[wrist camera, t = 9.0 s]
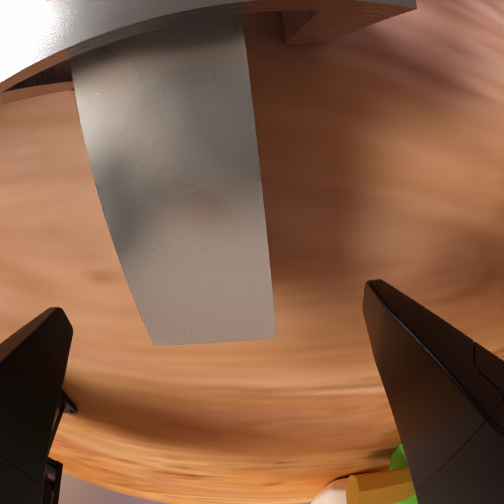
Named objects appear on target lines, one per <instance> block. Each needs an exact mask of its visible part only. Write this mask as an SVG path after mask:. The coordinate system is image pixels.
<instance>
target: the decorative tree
mask: <svg viewBox="0 0 504 504" xmlns="http://www.w3.org/2000/svg"><path fill="white" fill-rule="evenodd" d="M346 501H347V504H418V502H417V498H416V494H415V490H414V486H413V482H412V478H411V474H410V470H409V467H408V463H407V459H406V456H405V452H404V449H403V446H402V443H401V444H400V445H399V446H398V447H397V449H396V450H395V451H394V452H393V453H392V454H391V462H390V470H387V471H380V472H373V473H365V474H357V475H351V476H350V477H349V478H348V479H347V483H346Z"/></svg>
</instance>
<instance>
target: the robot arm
mask: <svg viewBox="0 0 504 504" xmlns="http://www.w3.org/2000/svg"><path fill="white" fill-rule="evenodd" d="M363 313H364V317H365V321H366V326H367V330H368V334H369V338H370V342H371V347H372V351H373V355H374V359H375V362H376V365H377V368H378V371H379V374H380V377H381V380H382V383H383V385H384V388H385V391H386V394H387V397H388V400H389V404H390V407H391V410H392V413H393V416H394V419H395V422H396V426H397V429H398V432H399V435H400V439H401V442H402V446H403V449H404V452H405V456H406V459H407V463H408V467H409V470H410V474H411V478H412V482H413V486H414V490H415V494H416V498H417V502H418V504H504V361H503V360H502V359H500V358H498V357H497V356H496V355H494V354H493V353H491V352H490V351H488V350H487V349H485V348H484V347H482V346H481V345H479V344H478V343H477V342H474V341H473V340H472V339H471V338H469V337H468V336H466V335H465V334H463V333H462V332H461V331H459V330H458V329H456V328H455V327H453V326H452V325H450V324H449V323H447V322H446V321H444V320H443V319H441V318H440V317H438V316H437V315H435V314H434V313H432V312H431V311H429V310H428V309H426V308H425V307H423V306H422V305H420V304H419V303H417V302H416V301H414V300H413V299H411V298H410V297H408V296H407V295H405V294H403V293H402V292H400V291H399V290H397V289H396V288H394V287H393V286H391V285H389V284H388V283H386V282H385V281H383V280H381V279H376V280H369V281H367V282H366V284H365V290H364V298H363ZM72 336H73V328H72V325H71V323H70V322H69V320H68V318H67V316H66V314H65V313H64V311H63V309H62V308H60V307H51V308H48V309H47V310H46V311H44V312H43V313H41V314H40V315H39V316H37V317H36V318H34V319H33V320H32V321H30V322H29V323H28V324H26V325H25V326H23V327H22V328H21V329H19V330H18V331H17V332H15V333H14V334H13V335H11V336H10V337H9V338H7V339H6V340H5V341H3V342H2V343H1V344H0V504H58V500H59V491H60V483H61V475H62V468H63V464H62V463H60V462H59V461H55V460H53V459H51V458H49V457H48V455H49V452H50V449H51V446H52V443H53V440H54V437H55V434H56V431H57V428H58V425H59V423H60V420H61V417H62V414H63V412H64V413H70V414H76V413H77V410H78V409H77V408H76V407H75V406H74V405H73V403H72V402H71V401H70V400H69V399H68V397H67V396H66V395H65V394H64V393H63V391H62V390H61V389H62V385H63V381H64V377H65V372H66V367H67V362H68V356H69V351H70V346H71V341H72Z"/></svg>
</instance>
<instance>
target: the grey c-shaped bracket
mask: <svg viewBox="0 0 504 504" xmlns="http://www.w3.org/2000/svg"><path fill="white" fill-rule="evenodd" d="M415 9H417V5H416V0H1V1H0V105H1V104H5V103H9V102H13V101H17V100H21V99H26V98H30V97H35V96H40V95H45V94H51V93H56V92H62V91H68V90H72V89H74V83H73V77H72V70H71V63H70V58H72V57H74V56H77V55H79V54H82V53H84V52H87V51H89V50H92V49H95V48H98V47H100V46H103V45H106V44H109V43H112V42H115V41H118V40H121V39H124V38H128V37H131V36H134V35H138V34H141V33H145V32H149V31H152V30H156V29H160V28H164V27H169V26H173V25H178V24H182V23H187V22H192V21H198V20H203V19H209V18H216V17H223V16H230V15H238V14H247V13H258V12H272V11H280V12H281V20H282V27H283V35H284V43H285V44H307V43H328V42H330V41H332V40H334V39H337V38H339V37H341V36H344V35H346V34H349V33H351V32H353V31H356V30H358V29H361V28H363V27H366V26H369V25H371V24H374V23H377V22H379V21H382V20H385V19H388V18H391V17H394V16H396V15H399V14H403V13H406V12H409V11H412V10H415Z"/></svg>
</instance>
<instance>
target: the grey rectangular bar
mask: <svg viewBox="0 0 504 504" xmlns="http://www.w3.org/2000/svg"><path fill="white" fill-rule="evenodd" d="M70 63H71V70H72V77H73V83H74V90H75V95H76V101H77V107H78V112H79V117H80V122H81V127H82V132H83V136H84V141H85V145H86V149H87V153H88V158H89V162H90V166H91V170H92V173H93V177H94V181H95V185H96V188H97V192H98V195H99V199H100V202H101V206H102V209H103V212H104V216H105V219H106V222H107V225H108V228H109V231H110V234H111V237H112V240H113V243H114V246H115V249H116V252H117V255H118V258H119V261H120V264H121V266H122V269H123V272H124V274H125V277H126V280H127V282H128V285H129V288H130V290H131V293H132V295H133V298H134V300H135V303H136V305H137V308H138V310H139V313H140V315H141V317H142V320H143V322H144V324H145V327H146V329H147V331H148V334H149V336H150V338H151V340H152V343H153V345H183V344H204V343H220V342H235V341H248V340H259V339H270V338H277V335H276V324H275V313H274V302H273V291H272V281H271V270H270V260H269V250H268V240H267V230H266V220H265V210H264V201H263V191H262V182H261V173H260V163H259V154H258V145H257V137H256V128H255V119H254V111H253V102H252V94H251V85H250V77H249V69H248V61H247V53H246V45H245V37H244V29H243V22H242V14H238V15H230V16H223V17H216V18H209V19H203V20H198V21H192V22H187V23H182V24H178V25H173V26H169V27H164V28H160V29H156V30H152V31H149V32H145V33H141V34H138V35H134V36H131V37H128V38H124V39H121V40H118V41H115V42H112V43H109V44H106V45H103V46H100V47H98V48H95V49H92V50H89V51H87V52H84V53H82V54H79V55H77V56H74V57H72V58H70Z"/></svg>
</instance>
